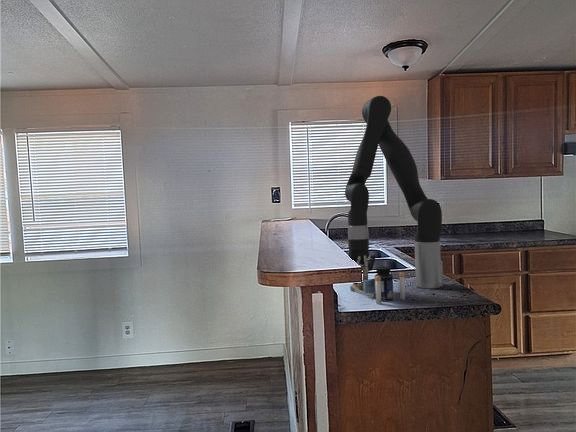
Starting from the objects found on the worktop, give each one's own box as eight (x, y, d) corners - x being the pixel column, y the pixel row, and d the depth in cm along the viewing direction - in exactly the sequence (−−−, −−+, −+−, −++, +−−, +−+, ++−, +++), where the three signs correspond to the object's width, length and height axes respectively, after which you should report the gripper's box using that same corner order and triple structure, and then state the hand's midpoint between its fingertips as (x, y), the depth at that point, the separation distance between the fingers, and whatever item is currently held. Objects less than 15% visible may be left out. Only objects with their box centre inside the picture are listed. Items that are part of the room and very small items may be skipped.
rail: (360, 289, 172) (359, 284, 172) (382, 296, 159) (382, 291, 159) (350, 290, 170) (350, 286, 170) (372, 297, 157) (372, 292, 157)
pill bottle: (391, 296, 158) (389, 265, 157) (395, 301, 152) (394, 268, 151) (373, 297, 157) (372, 266, 157) (377, 302, 151) (376, 269, 151)
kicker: (365, 285, 171) (365, 264, 171) (384, 290, 161) (383, 268, 161) (347, 288, 168) (347, 266, 167) (365, 293, 158) (364, 271, 157)
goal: (403, 298, 155) (402, 271, 154) (407, 299, 153) (406, 272, 152) (374, 303, 150) (373, 275, 149) (378, 304, 148) (377, 276, 147)
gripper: (368, 235, 173) (369, 279, 174) (336, 238, 167) (338, 284, 168) (380, 236, 166) (381, 282, 167) (347, 239, 160) (349, 287, 161)
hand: (360, 283), depth 167 cm, fingers closed on kicker, 3 cm apart
